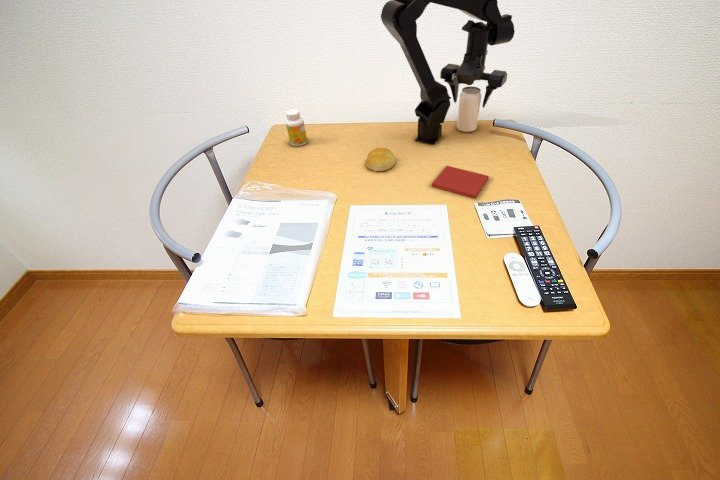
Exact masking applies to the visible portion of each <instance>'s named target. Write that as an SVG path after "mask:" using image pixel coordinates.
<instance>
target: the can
mask: <svg viewBox="0 0 720 480" xmlns="http://www.w3.org/2000/svg"><path fill="white" fill-rule="evenodd" d="M481 91H482V89H481V88H480V87H477V86H464V87H462V89H461V92H460V94H459V100H458V107H457V118H456V129H457V130H458V131H459V132H462V133H472V132H475V130H477V128H478V127H477V126H478V122H479V115H480V109H481V100H482V93H481Z"/></svg>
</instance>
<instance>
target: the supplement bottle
mask: <svg viewBox="0 0 720 480" xmlns="http://www.w3.org/2000/svg"><path fill="white" fill-rule="evenodd" d="M285 115H286V116H285V117H286V120H285V126H286V129H287V134H288V138H289V139H288V140H289V144H290V145H292V146H294V147H302V146H304V145H306V144H307V143H308V138H307V132H306V127H305V126H306V125H305V121H304V119H303V117H301V113H300V110H299V109H296V108H293V109H288V110H287V111H286V112H285Z"/></svg>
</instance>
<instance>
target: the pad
mask: <svg viewBox="0 0 720 480" xmlns="http://www.w3.org/2000/svg"><path fill="white" fill-rule="evenodd" d="M488 180H489V175H486V174H482V173H479V172H474V171H470V170H466V169H462V168H458V167H454V166H451V165H446V166H445V167H444V169H443V170H441V172H440V173H439V174H438V176H437V177H436V178H435V179H434V180H433V181H432V183H431V187H432V188H435V189H439V190H443V191H446V192H451V193H454V194H457V195H460V196H464V197H468V198H472V199H476V198H477V196H478V195H479V194H480V192H481V191H482V189H483V188H484V186H485V184H487V182H488Z"/></svg>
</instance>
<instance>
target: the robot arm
mask: <svg viewBox="0 0 720 480" xmlns="http://www.w3.org/2000/svg"><path fill="white" fill-rule="evenodd" d="M498 2H499V1H498V0H388V1H386V2H385V4H383V7H382V9H381V14H380V19H381V22H382V24H383V26H384V27H385V29H386V30H387V31H388V33H389V34H390V35H391V36H392V37H393V38H394V39H395V40H396V42H397V43H398V44H399V46H400V48H401V50H402V53H403V54H404V56H405V59H406V60H407V63H408V65H409V67H410V69H411V72H412V74H413V76H414V78H415V80H416V82H417V84H418V87H419V89H420V92H419V96H420V100H421V101H420V102H419V104H417V106H416V107H415V108H414V114H415V116H416V117H418V119H417V136H416V137H415V139H414V141H416V142H419V143H423V144H427V145H435V144H436V143H437V142H438V141H439V140H440V139H441V138H442V137H443V133H442V131H443V125H442V124H444V122H445V120H446V117H447V114H448V111H449V110H450V107H451V99H452V100H453V103H457V102H458V97H459V88H460V87H459V86H460V85H466V86H472V85H474V83H475V82H476V81H487V85H486V86H485V93H484V97H483V100H482V109H483V108H485V107H486V105H487V104H488V101H489V99H490V98H491V96H492V94H493V92H494V91H496V90H497V89H498V88H499V89H500V88H502V87H503V86H504V85H505V84H506V82H507V81H508V73H507V71H506V70H499V69H494V70H493V71H492V72H491V73H490V72H485V70H486V66H485V65H486V58H487V55H488V51H489V50H488V45H489V46H492V47H493V46H497V45H502V44H506V43H510V42H511V41H512V40H513V38H514V35H515V33H516V32H515V31H516V30H515V25H514V22H513V20H512V19H513V15H512V14H508V13H506V14H501V11H500V8H499V6H498V5H499V4H498ZM430 3H432V4H436V5H439V6H443V7H447V8H451V9H455V10H459V11H460V12H461V13H463V14H465V15H466V16H468V17H470V18H473V19H476V20H478V21H476V22H475V21H474V20H471V19H468V20H467V22H466V23H465V24H464V25H463V26H462V27H461V31H463V32H466V33H467V39H466V48H465V53H464V55H463V59H462V62H461V64H460V65H459V64H456V63H447V64H446V65H445V66H443V67H442V68H441V70H440V75H439V77H440V78H439V79H441V80H443V81H444V83H447V84H448V85H449V88H450V92H451V95H452V97H451V96H450V95H449V91H448V88H447V86H446V85H444V84H442V83H441V82H439V81H437V80H435V77H434V74H433V72H432V70H431V67H430V64H429V62H428V60H427V58H426V55H425V53H424V51H423V48H422V46H421V44H420V41H419V39H418V36H417V34H418V25H417V24H418V23H417V20H418V19H419V18H420V17H422V15H423V13H424V12H425V10H426V8H427V7H428V5H429V4H430Z"/></svg>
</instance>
